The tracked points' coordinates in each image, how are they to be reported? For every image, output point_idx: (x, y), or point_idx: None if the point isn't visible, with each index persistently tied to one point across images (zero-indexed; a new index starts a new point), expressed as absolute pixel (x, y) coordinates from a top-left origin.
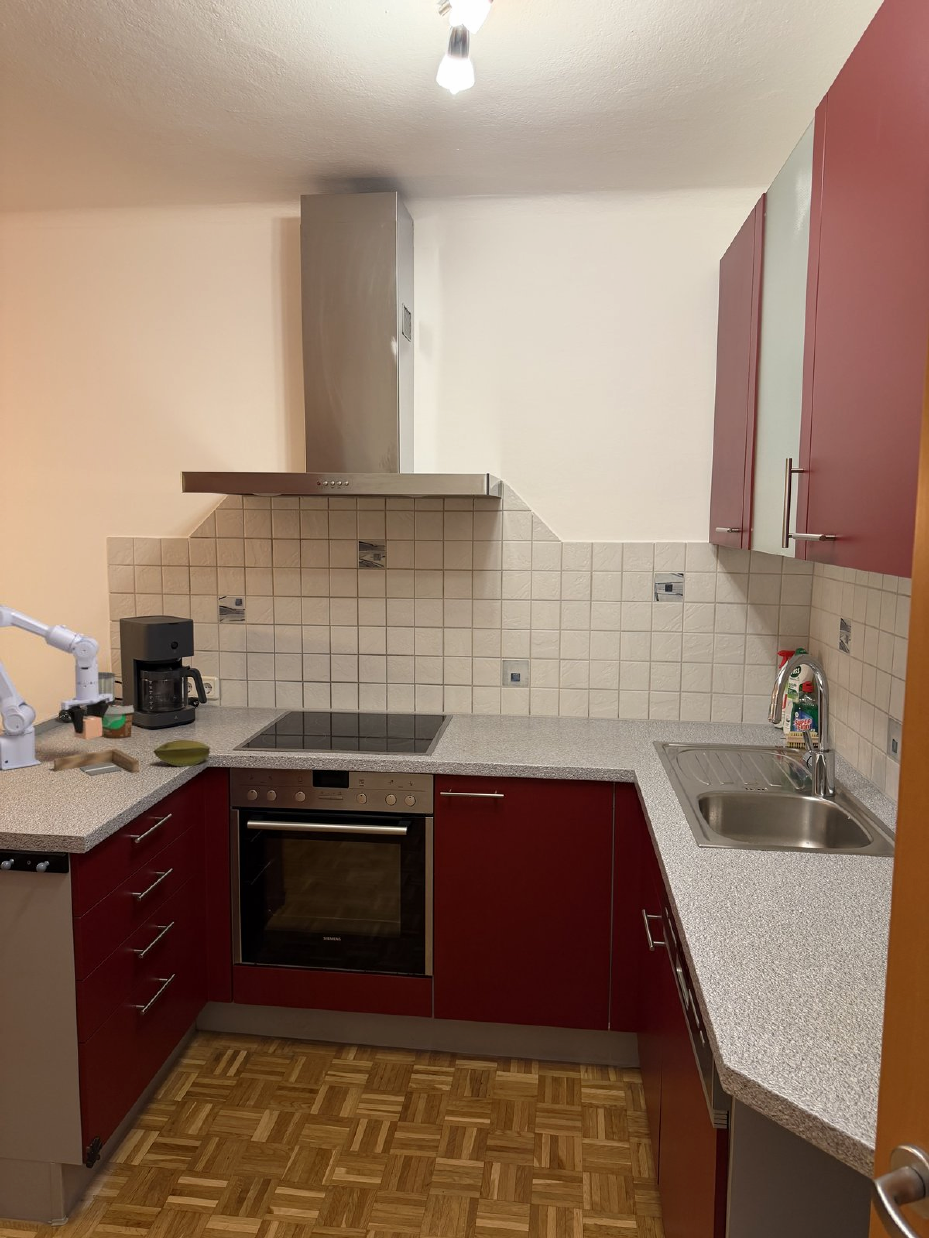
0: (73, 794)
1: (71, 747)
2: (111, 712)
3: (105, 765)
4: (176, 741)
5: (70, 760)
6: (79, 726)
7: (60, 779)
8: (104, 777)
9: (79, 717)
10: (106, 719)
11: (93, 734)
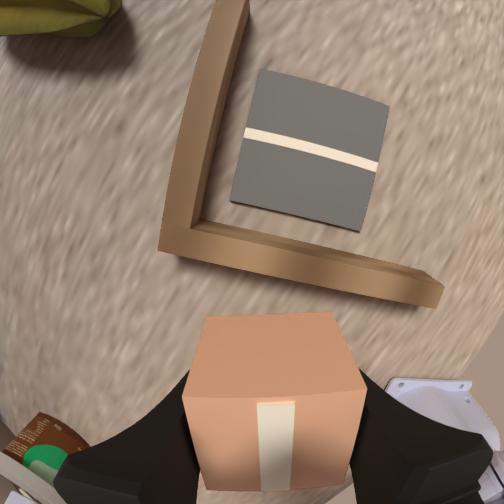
0: (493, 19)
1: None
2: (52, 492)
3: (271, 172)
4: None
5: (390, 270)
6: (376, 387)
7: (468, 166)
8: (363, 48)
9: (424, 421)
10: None
11: (275, 324)
